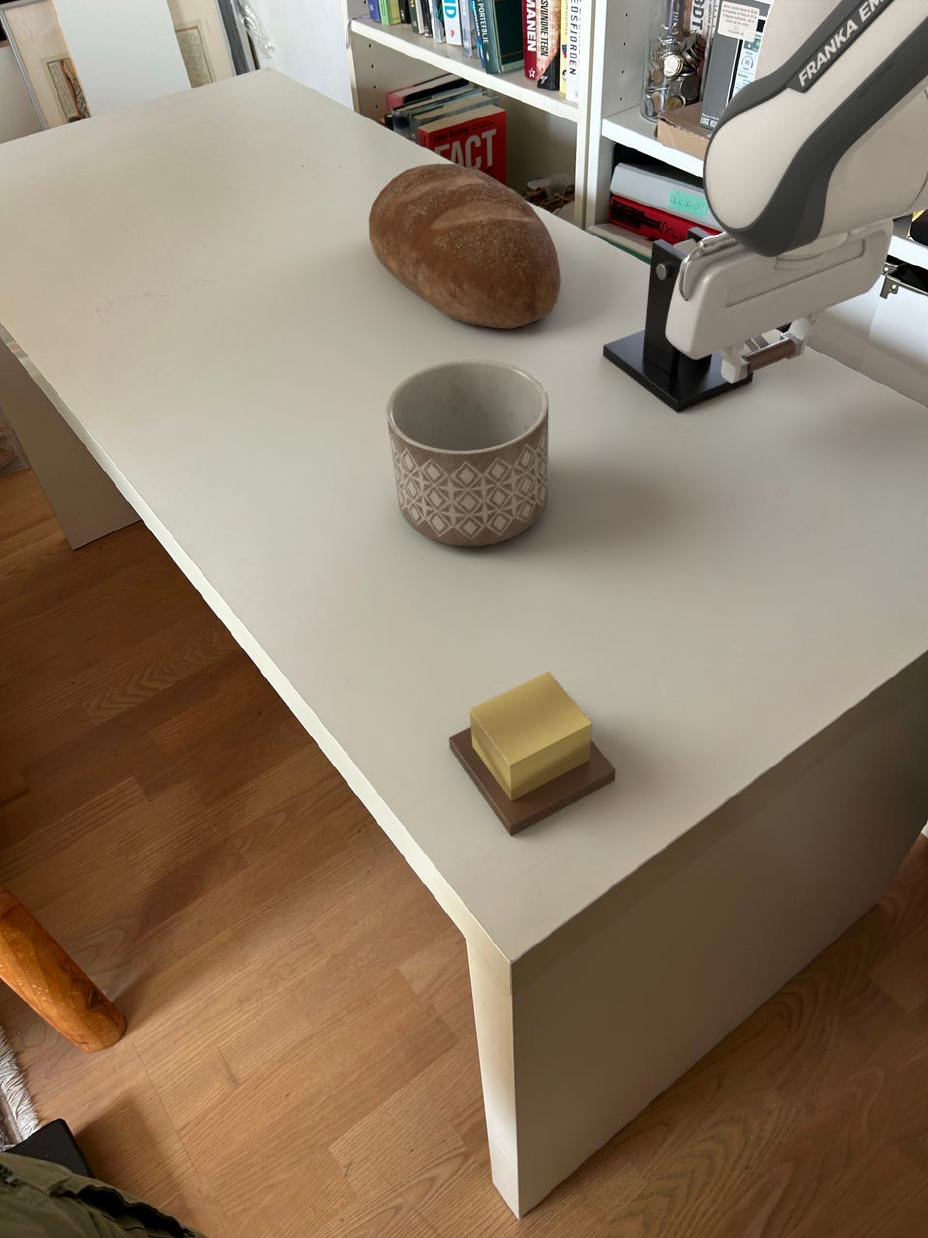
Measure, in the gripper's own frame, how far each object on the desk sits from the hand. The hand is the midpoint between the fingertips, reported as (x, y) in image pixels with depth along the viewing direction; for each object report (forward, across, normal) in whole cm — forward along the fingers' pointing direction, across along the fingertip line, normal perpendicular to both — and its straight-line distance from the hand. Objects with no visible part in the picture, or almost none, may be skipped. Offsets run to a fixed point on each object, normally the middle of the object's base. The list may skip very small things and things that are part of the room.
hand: (762, 365), depth 84 cm
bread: (+6, -8, +39) cm, 41 cm away
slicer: (+6, 0, +11) cm, 13 cm away
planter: (+6, -27, +4) cm, 28 cm away
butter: (+6, -37, -21) cm, 43 cm away
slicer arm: (-2, 0, +6) cm, 6 cm away
